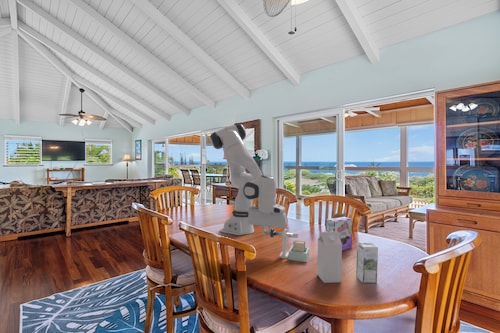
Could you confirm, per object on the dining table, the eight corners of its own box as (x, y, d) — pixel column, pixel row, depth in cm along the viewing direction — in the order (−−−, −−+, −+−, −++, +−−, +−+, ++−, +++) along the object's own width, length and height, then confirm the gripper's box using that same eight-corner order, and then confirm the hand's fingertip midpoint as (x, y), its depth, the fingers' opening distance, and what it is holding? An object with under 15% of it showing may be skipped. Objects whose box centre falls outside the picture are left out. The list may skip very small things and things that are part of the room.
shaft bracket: (278, 258, 123) (279, 231, 123) (282, 252, 132) (283, 227, 131) (306, 262, 119) (307, 234, 119) (309, 255, 127) (309, 230, 127)
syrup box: (369, 276, 104) (370, 241, 104) (377, 283, 98) (378, 246, 98) (356, 276, 104) (356, 241, 104) (362, 283, 98) (363, 246, 98)
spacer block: (303, 260, 121) (303, 243, 121) (293, 258, 123) (293, 242, 123) (305, 256, 126) (305, 240, 126) (294, 255, 128) (295, 239, 127)
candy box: (333, 252, 131) (333, 221, 131) (325, 249, 136) (325, 218, 136) (352, 248, 137) (352, 218, 137) (343, 245, 143) (344, 216, 142)
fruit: (329, 238, 155) (329, 213, 155) (330, 233, 166) (331, 210, 165) (349, 240, 151) (349, 215, 151) (349, 235, 161) (349, 212, 161)
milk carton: (317, 275, 106) (317, 229, 105) (334, 274, 106) (334, 229, 106) (323, 283, 98) (324, 234, 98) (341, 282, 99) (342, 234, 99)
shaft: (270, 238, 127) (270, 230, 127) (272, 235, 131) (272, 228, 131) (296, 241, 123) (296, 233, 122) (298, 238, 126) (298, 230, 126)
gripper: (245, 206, 130) (245, 233, 130) (285, 210, 122) (284, 238, 123) (250, 205, 136) (250, 230, 136) (288, 207, 128) (287, 235, 129)
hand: (267, 234), depth 129 cm, fingers closed
